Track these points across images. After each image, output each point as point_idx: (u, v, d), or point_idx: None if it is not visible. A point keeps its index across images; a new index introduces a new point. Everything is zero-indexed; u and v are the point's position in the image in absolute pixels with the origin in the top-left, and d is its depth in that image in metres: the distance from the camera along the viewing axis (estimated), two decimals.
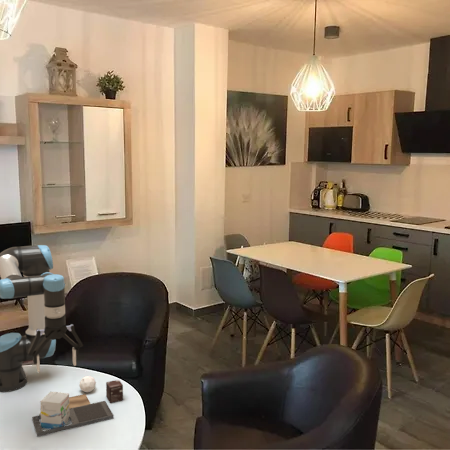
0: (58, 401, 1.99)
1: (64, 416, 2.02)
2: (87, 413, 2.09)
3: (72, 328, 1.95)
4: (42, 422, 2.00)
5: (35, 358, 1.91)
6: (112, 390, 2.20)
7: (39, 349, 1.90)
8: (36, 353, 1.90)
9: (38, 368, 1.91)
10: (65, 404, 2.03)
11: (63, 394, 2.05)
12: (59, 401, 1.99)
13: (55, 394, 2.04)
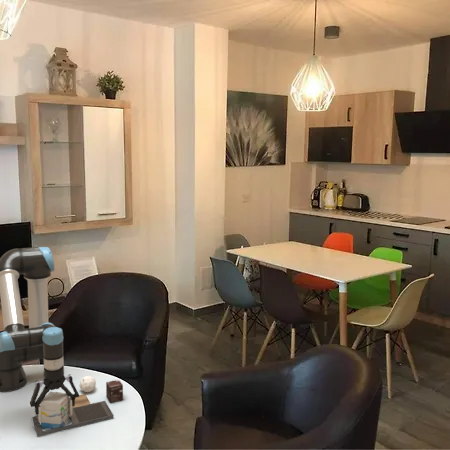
0: (58, 401, 1.99)
1: (64, 416, 2.02)
2: (87, 413, 2.09)
3: (70, 379, 2.03)
4: (42, 422, 2.00)
5: (37, 409, 1.99)
6: (112, 390, 2.20)
7: (40, 400, 1.98)
8: (37, 404, 1.98)
9: (40, 418, 1.99)
10: (65, 404, 2.03)
11: (63, 394, 2.05)
12: (59, 401, 1.99)
13: (55, 394, 2.04)
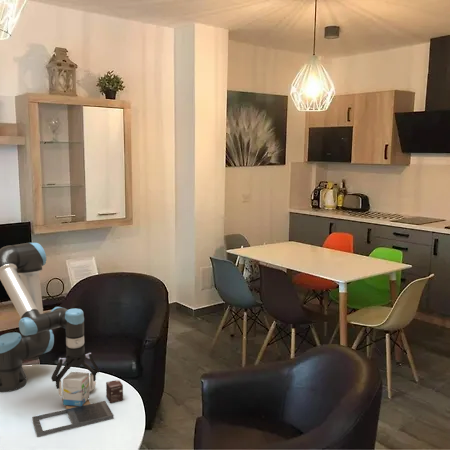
0: (80, 379, 2.14)
1: (85, 393, 2.18)
2: (87, 413, 2.09)
3: (90, 356, 2.18)
4: (64, 399, 2.15)
5: (58, 384, 2.14)
6: (112, 390, 2.20)
7: (61, 375, 2.13)
8: (59, 379, 2.13)
9: (60, 392, 2.14)
10: (86, 382, 2.18)
11: (83, 373, 2.20)
12: (80, 379, 2.15)
13: (76, 373, 2.20)
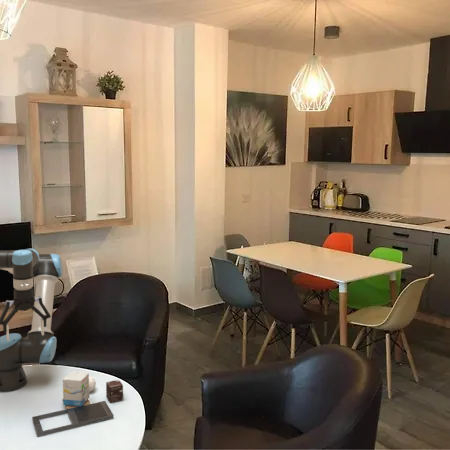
0: (79, 379, 2.14)
1: (85, 393, 2.18)
2: (87, 413, 2.09)
3: (40, 300, 2.10)
4: (64, 399, 2.15)
5: (5, 327, 2.05)
6: (112, 390, 2.20)
7: (8, 319, 2.05)
8: (6, 322, 2.05)
9: (8, 336, 2.06)
10: (86, 382, 2.18)
11: (83, 373, 2.20)
12: (80, 379, 2.15)
13: (76, 373, 2.20)
